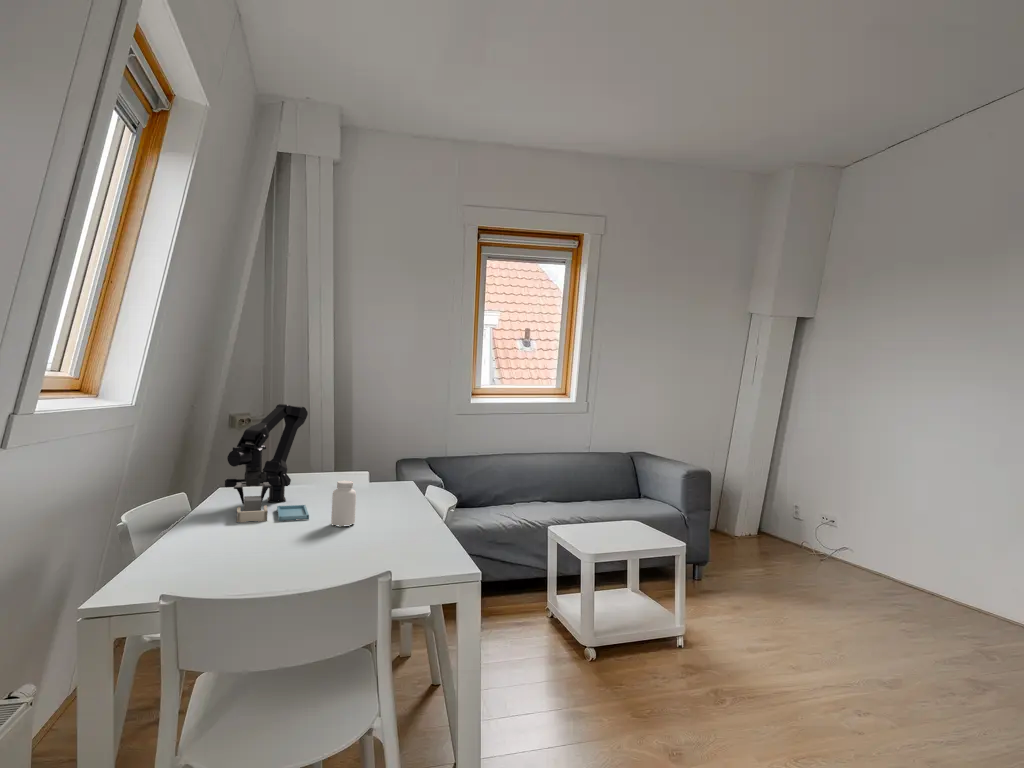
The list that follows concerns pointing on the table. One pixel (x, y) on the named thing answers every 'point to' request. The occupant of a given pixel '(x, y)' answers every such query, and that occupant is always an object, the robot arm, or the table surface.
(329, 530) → the table surface
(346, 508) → the pill bottle
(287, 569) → the table surface
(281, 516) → the tray
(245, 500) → the grey rectangular block
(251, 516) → the bay
